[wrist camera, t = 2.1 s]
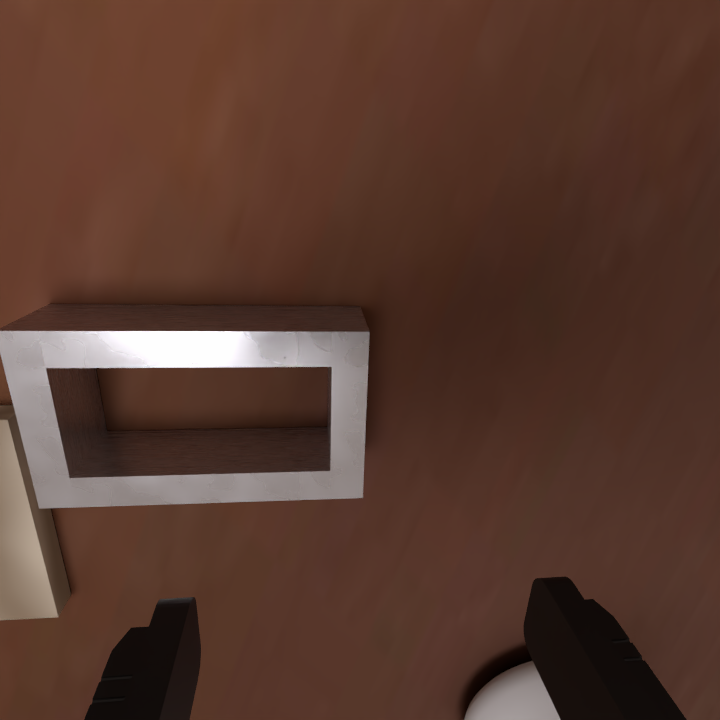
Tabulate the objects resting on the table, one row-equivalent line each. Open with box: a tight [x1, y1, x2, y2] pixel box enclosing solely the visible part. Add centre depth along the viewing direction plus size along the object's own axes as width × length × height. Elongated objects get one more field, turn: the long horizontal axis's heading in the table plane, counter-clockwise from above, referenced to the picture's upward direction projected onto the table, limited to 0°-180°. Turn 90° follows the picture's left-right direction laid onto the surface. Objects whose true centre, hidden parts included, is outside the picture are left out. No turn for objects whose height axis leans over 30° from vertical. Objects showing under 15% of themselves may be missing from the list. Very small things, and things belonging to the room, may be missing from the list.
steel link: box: [0, 304, 370, 509], centre depth 22 cm, size 14×8×4 cm, turn 88°
